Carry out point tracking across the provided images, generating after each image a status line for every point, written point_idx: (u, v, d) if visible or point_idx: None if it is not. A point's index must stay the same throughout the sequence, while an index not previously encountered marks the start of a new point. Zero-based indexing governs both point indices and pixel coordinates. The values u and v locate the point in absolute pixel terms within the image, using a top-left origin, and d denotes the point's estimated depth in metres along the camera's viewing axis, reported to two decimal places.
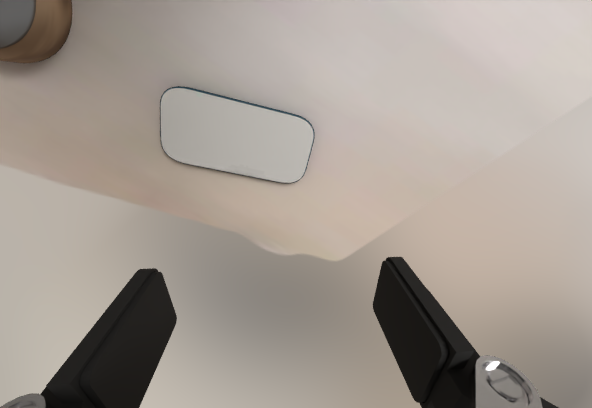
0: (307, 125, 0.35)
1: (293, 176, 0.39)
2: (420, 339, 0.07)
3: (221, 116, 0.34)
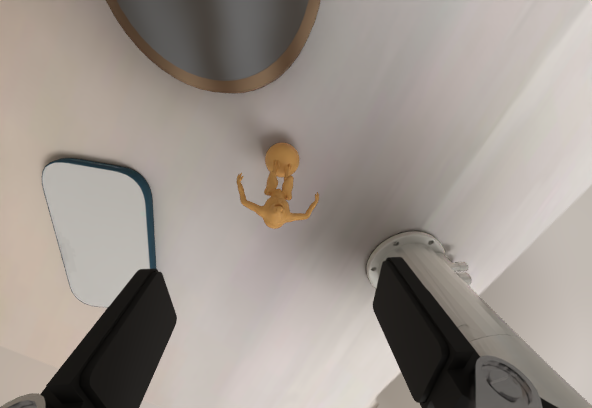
0: None
1: (84, 297, 0.34)
2: (419, 338, 0.07)
3: (126, 233, 0.29)
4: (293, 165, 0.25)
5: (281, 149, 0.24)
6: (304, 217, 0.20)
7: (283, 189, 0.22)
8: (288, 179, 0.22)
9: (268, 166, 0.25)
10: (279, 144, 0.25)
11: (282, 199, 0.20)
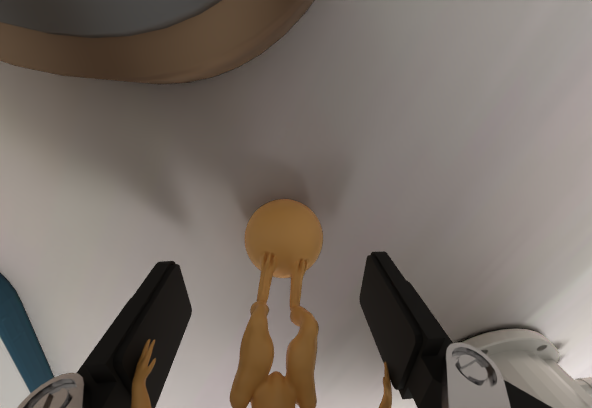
0: None
1: None
2: (397, 328, 0.07)
3: None
4: (312, 259, 0.10)
5: (282, 226, 0.10)
6: None
7: (290, 378, 0.07)
8: (305, 338, 0.07)
9: (251, 259, 0.11)
10: (277, 208, 0.10)
11: None
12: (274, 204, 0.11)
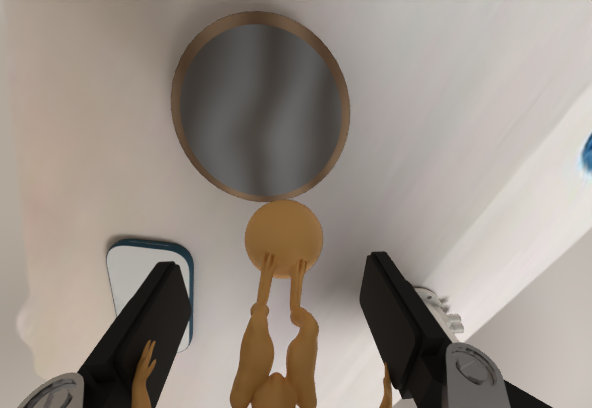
0: (184, 348, 0.40)
1: None
2: (397, 328, 0.07)
3: None
4: (312, 259, 0.10)
5: (282, 227, 0.10)
6: None
7: (291, 379, 0.07)
8: (305, 339, 0.07)
9: (251, 260, 0.11)
10: (277, 209, 0.10)
11: None
12: (274, 205, 0.11)
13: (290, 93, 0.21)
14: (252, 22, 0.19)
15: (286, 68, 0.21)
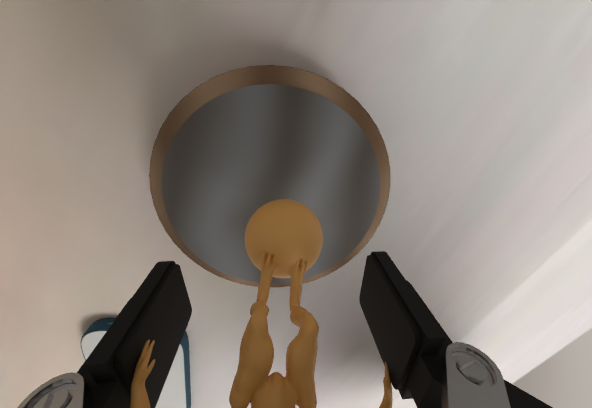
0: None
1: None
2: (397, 328, 0.07)
3: None
4: (312, 259, 0.10)
5: (282, 226, 0.10)
6: None
7: (290, 379, 0.07)
8: (305, 339, 0.07)
9: (251, 259, 0.11)
10: (277, 209, 0.10)
11: None
12: (274, 204, 0.11)
13: (313, 168, 0.16)
14: (261, 80, 0.13)
15: (308, 138, 0.15)
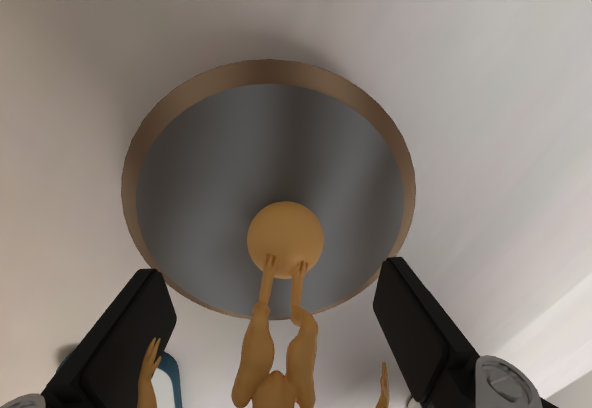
0: None
1: None
2: (419, 338, 0.07)
3: None
4: (313, 260, 0.10)
5: (283, 228, 0.10)
6: None
7: (290, 377, 0.07)
8: (304, 339, 0.08)
9: (253, 260, 0.11)
10: (279, 211, 0.10)
11: None
12: (276, 206, 0.11)
13: (323, 187, 0.13)
14: (258, 78, 0.11)
15: (318, 152, 0.12)
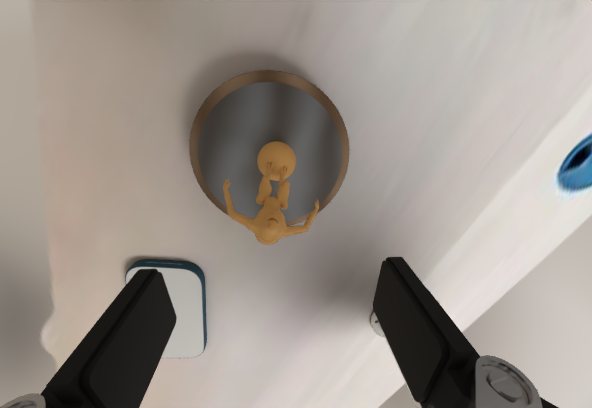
0: (199, 353, 0.44)
1: None
2: (419, 338, 0.07)
3: (186, 307, 0.38)
4: (289, 167, 0.22)
5: (275, 150, 0.21)
6: (302, 230, 0.18)
7: (278, 197, 0.19)
8: (284, 185, 0.19)
9: (261, 168, 0.22)
10: (273, 143, 0.22)
11: (277, 210, 0.17)
12: (271, 142, 0.22)
13: (296, 137, 0.24)
14: (262, 79, 0.22)
15: (293, 117, 0.23)
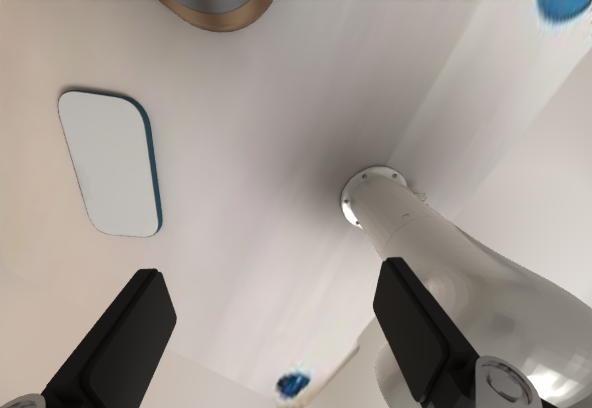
0: (154, 231, 0.40)
1: (100, 225, 0.39)
2: (419, 339, 0.07)
3: (131, 158, 0.34)
4: None
5: None
6: None
7: None
8: None
9: None
10: None
11: None
12: None
13: None
14: None
15: None
